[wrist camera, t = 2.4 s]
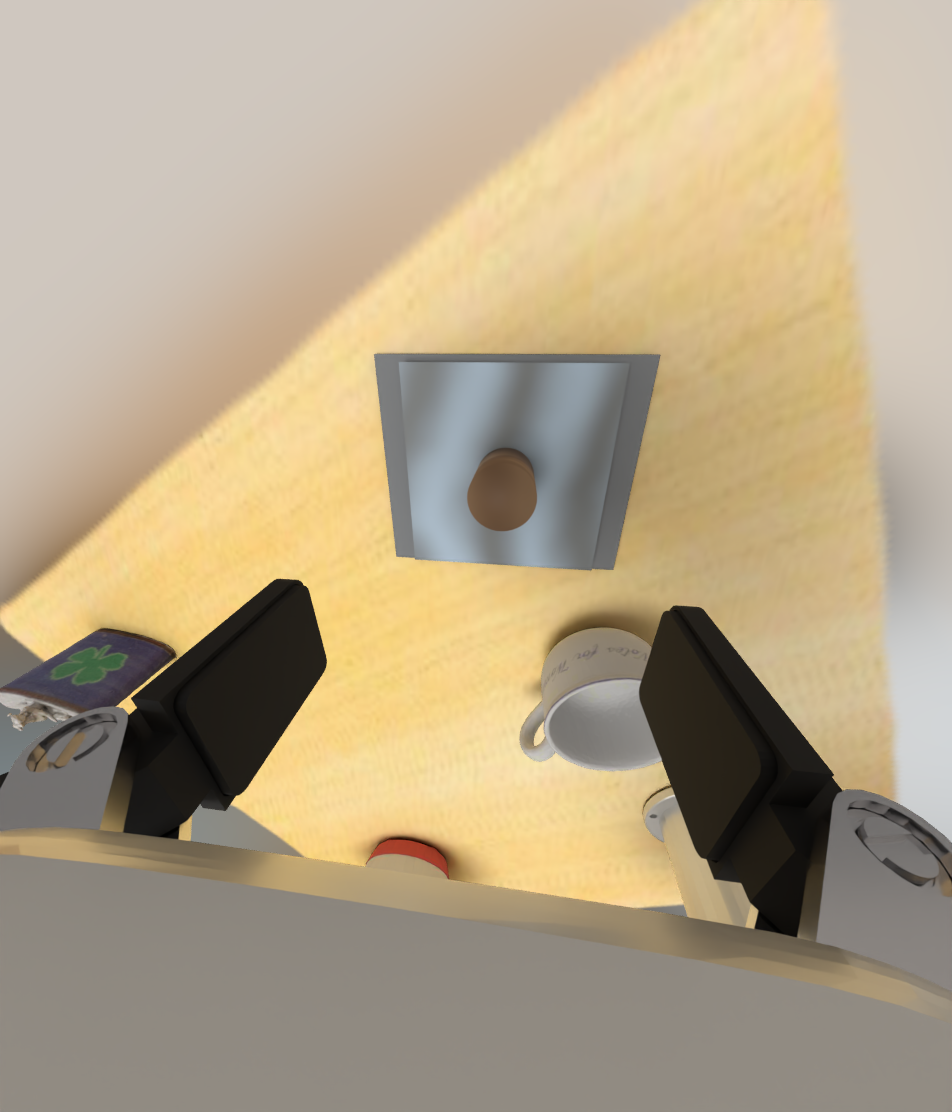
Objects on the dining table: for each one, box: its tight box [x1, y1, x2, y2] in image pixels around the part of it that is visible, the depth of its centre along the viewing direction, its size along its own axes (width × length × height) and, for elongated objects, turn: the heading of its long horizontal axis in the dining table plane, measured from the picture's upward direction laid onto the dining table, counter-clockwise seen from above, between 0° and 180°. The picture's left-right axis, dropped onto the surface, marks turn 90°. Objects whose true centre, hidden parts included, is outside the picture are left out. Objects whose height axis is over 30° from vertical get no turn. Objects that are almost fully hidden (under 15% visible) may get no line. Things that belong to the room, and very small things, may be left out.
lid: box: [399, 362, 630, 570], centre depth 22 cm, size 14×14×6 cm
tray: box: [374, 354, 660, 570], centre depth 25 cm, size 18×15×1 cm
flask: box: [0, 628, 176, 731], centre depth 34 cm, size 9×3×11 cm, turn 76°
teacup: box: [520, 628, 662, 771], centre depth 29 cm, size 14×11×8 cm
